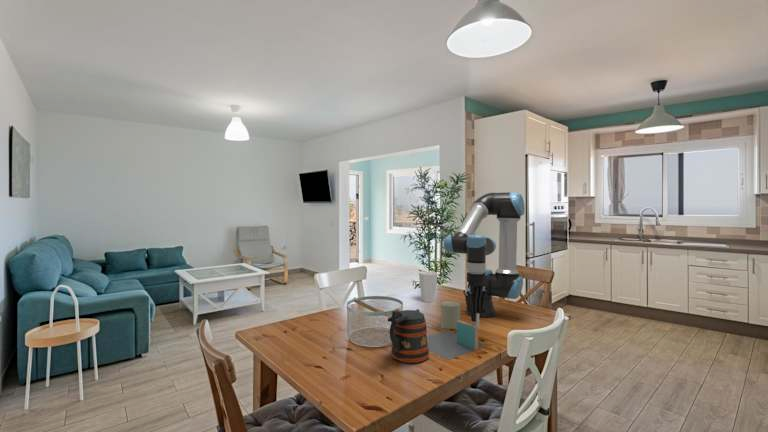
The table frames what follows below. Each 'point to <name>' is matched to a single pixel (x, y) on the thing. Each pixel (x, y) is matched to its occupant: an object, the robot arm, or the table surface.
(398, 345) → the beer stein
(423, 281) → the cup
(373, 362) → the table surface
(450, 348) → the board
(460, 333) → the tile
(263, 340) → the table surface
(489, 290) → the robot arm
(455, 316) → the can
